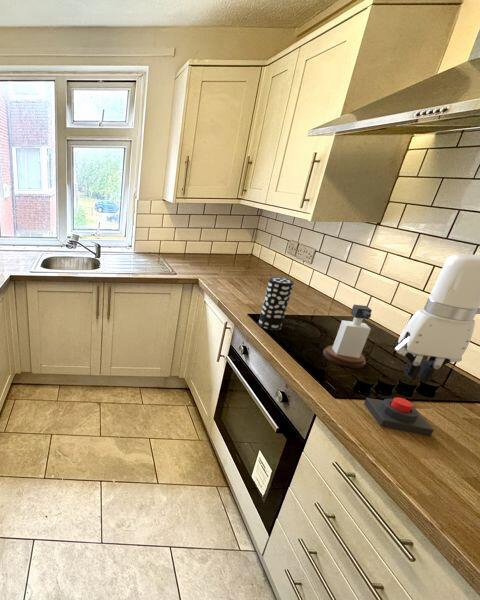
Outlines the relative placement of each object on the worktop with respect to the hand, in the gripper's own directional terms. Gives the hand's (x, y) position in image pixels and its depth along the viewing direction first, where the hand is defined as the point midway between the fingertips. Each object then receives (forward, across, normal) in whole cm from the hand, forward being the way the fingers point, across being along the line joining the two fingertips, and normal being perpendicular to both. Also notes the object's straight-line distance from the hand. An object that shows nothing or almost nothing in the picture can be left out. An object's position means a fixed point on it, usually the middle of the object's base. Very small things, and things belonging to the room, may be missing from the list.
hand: (415, 377), depth 77 cm
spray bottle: (+12, +1, -30) cm, 32 cm away
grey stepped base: (+13, 0, 0) cm, 13 cm away
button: (+10, 0, 0) cm, 10 cm away
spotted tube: (+13, +20, -50) cm, 55 cm away
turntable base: (+13, +1, -30) cm, 33 cm away
